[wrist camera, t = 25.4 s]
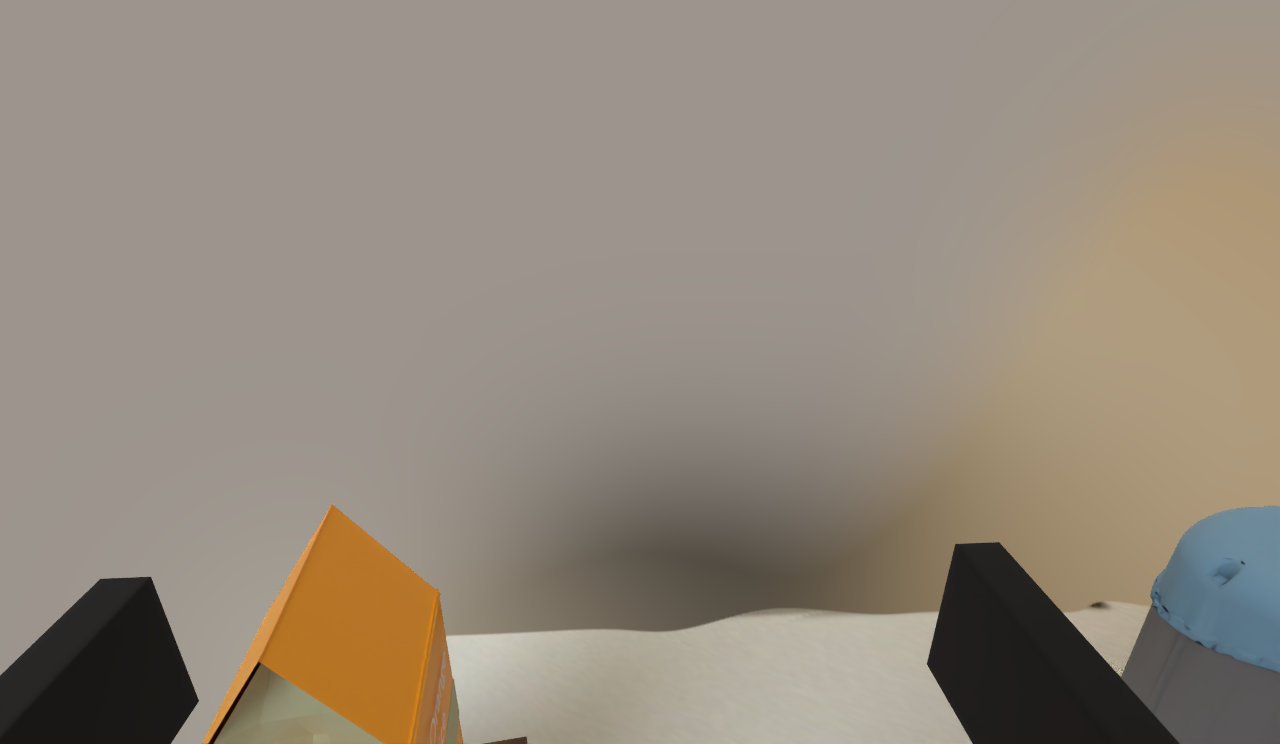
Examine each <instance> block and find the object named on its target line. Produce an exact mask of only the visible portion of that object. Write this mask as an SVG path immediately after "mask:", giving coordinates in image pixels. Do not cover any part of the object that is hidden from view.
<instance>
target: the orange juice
mask: <svg viewBox="0 0 1280 744" xmlns="http://www.w3.org/2000/svg"><path fill="white" fill-rule="evenodd" d="M202 744H463V739H462V733H461V727H460V721H459V709H458V703H457V697H456V691H455V684H454V679H453V678H452V672H451V666H450V660H449V653H448V647H447V641H446V635H445V629H444V623H443V617H442V611H441V604H440V593H439V592H438V589H434V588H433V587H431V586H430V585H429V584H428V583H427V582H425V581H424V580H423V579H422V578H420V577H419V576H418V575H417V574H416V573H414V572H413V571H412V570H411V569H409V568H408V567H407V566H406V565H405V564H404V563H402V562H401V561H400V560H399V559H398V558H396V557H395V556H394V555H393V554H391V553H390V552H389V551H388V550H387V549H385V548H384V547H383V546H382V545H381V544H379V543H378V542H377V541H376V540H375V539H373V538H372V537H371V536H370V535H368V534H367V533H366V532H365V531H364V530H362V529H361V528H360V527H359V526H358V525H356V524H355V523H354V522H353V521H352V520H350V519H349V518H348V517H347V516H345V515H344V514H343V513H342V512H341V511H339V510H338V509H337V508H336V507H335V506H333V505H331V507H330V508H329V510H328V512H327V513H326V515H325V517H324V519H323V520H322V522H321V523H320V525H319V527H318V529H317V530H316V532H315V534H314V535H313V537H312V538H311V540H310V542H309V544H308V545H307V547H306V549H305V550H304V552H303V554H302V555H301V557H300V559H299V560H298V562H297V564H296V565H295V567H294V569H293V570H292V572H291V574H290V575H289V577H288V579H287V580H286V582H285V584H284V585H283V587H282V589H281V591H280V592H279V594H278V595H277V597H276V599H275V600H274V602H273V604H272V605H271V607H270V609H269V610H268V612H267V614H266V616H265V618H264V620H263V622H262V624H261V626H260V628H259V630H258V632H257V634H256V636H255V639H254V640H253V643H252V644H251V647H250V648H249V650H248V653H247V654H246V656H245V659H244V660H243V662H242V664H241V667H240V669H239V671H238V673H237V675H236V677H235V679H234V681H233V683H232V685H231V687H230V689H229V691H228V693H227V695H226V697H225V699H224V701H223V703H222V705H221V707H220V709H219V711H218V713H217V715H216V717H215V719H214V721H213V723H212V725H211V727H210V729H209V731H208V733H207V735H206V737H205V739H204V741H203V743H202Z"/></svg>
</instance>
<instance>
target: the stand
mask: <svg viewBox="0 0 1280 744" xmlns="http://www.w3.org/2000/svg"><path fill="white" fill-rule="evenodd" d="M485 744H527V737H521V738H515V739H509V740H503V741H497V742H491V743H485Z"/></svg>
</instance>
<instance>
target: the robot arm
mask: <svg viewBox="0 0 1280 744" xmlns="http://www.w3.org/2000/svg"><path fill="white" fill-rule="evenodd" d="M1151 598H1152V601H1153V603H1152V605H1151V608H1150V610H1149V612H1148V615H1147V617H1146V620H1145V622H1144V624H1143V627H1142V629H1141V631H1140V634H1139V636H1138V638H1137V641H1136V643H1135V645H1134V648H1133V650H1132V652H1131V655H1130V657H1129V660H1128V662H1127V664H1126V667H1125V669H1124V671H1123V674H1122V676H1121V677H1120V676H1119V675H1118V674H1117V673H1116V672H1115V671H1114V670H1113V668H1112V667H1111V666H1110V665H1109V664H1108V663H1107V662H1106V661H1105V660H1104V658H1103V657H1102V656H1101V655H1100V654H1099V653H1098V652H1097V651H1096V650H1095V648H1094V647H1093V646H1092V645H1091V644H1090V643H1089V642H1088V641H1087V640H1086V638H1085V637H1084V636H1083V635H1082V634H1081V633H1080V632H1079V631H1078V630H1077V628H1076V627H1075V626H1074V625H1073V624H1072V623H1071V622H1070V621H1069V619H1068V618H1067V617H1066V616H1065V615H1064V614H1063V613H1062V612H1061V611H1060V609H1059V608H1058V607H1057V606H1056V605H1055V604H1054V603H1053V602H1052V601H1051V599H1050V598H1049V597H1048V596H1047V595H1046V594H1045V593H1044V592H1043V591H1042V590H1041V588H1040V587H1039V586H1038V585H1037V584H1036V583H1035V582H1034V581H1033V579H1032V578H1031V577H1030V576H1029V575H1028V574H1027V573H1026V572H1025V570H1024V569H1023V568H1022V567H1021V566H1020V565H1019V564H1018V563H1017V562H1016V561H1015V560H1014V558H1013V557H1012V556H1011V555H1010V554H1009V553H1008V552H1007V551H1006V549H1005V548H1004V547H1003V546H1002V545H1001V544H1000V543H999V542H998V543H972V544H956V545H955V548H954V552H953V557H952V561H951V565H950V569H949V573H948V578H947V582H946V586H945V590H944V594H943V599H942V603H941V607H940V611H939V615H938V620H937V624H936V628H935V632H934V637H933V641H932V645H931V649H930V653H929V658H928V662H927V665H928V667H929V669H930V670H931V672H932V674H933V676H934V677H935V679H936V681H937V682H938V684H939V686H940V688H941V689H942V691H943V693H944V695H945V696H946V698H947V700H948V702H949V703H950V705H951V707H952V708H953V710H954V712H955V714H956V715H957V717H958V719H959V721H960V722H961V724H962V726H963V728H964V729H965V731H966V733H967V734H968V736H969V738H970V740H971V741H972V743H973V744H1280V506H1265V507H1257V508H1255V507H1252V508H1251V507H1250V508H1237V509H1232V510H1227V511H1223V512H1219V513H1216V514H1213V515H1211V516H1208V517H1206V518H1205V519H1202V520H1200V521H1198V522H1197V523H1196V524H1194V525H1193V526H1192V527H1190V528H1189V529H1188V530H1187V531H1186V532H1185V534H1184V535H1183V536H1182V538H1181V539H1180V541H1179V543H1178V545H1177V547H1176V549H1175V551H1174V553H1173V555H1172V557H1171V559H1170V561H1169V563H1168V565H1167V567H1166V569H1164V570H1163V571H1162V572H1161V573H1160V574H1159V575H1158V576H1157V578H1156V579H1155V581H1154V583H1153V586H1152V591H1151ZM198 702H199V700H198V697H197V695H196V692H195V690H194V687H193V684H192V682H191V679H190V677H189V674H188V672H187V669H186V666H185V664H184V661H183V659H182V656H181V654H180V651H179V649H178V646H177V644H176V641H175V638H174V635H173V633H172V630H171V628H170V625H169V622H168V620H167V618H166V615H165V612H164V610H163V607H162V604H161V602H160V599H159V597H158V594H157V592H156V589H155V586H154V584H153V581H152V579H151V577H137V578H112V579H100V580H99V581H98V582H97V583H96V584H95V585H94V586H93V587H92V588H91V589H90V590H89V591H88V592H86V593H85V594H84V595H83V596H82V597H81V598H80V599H79V600H78V601H77V602H76V603H75V604H74V605H73V606H72V607H71V608H70V609H69V610H68V611H67V612H66V613H65V614H64V615H63V616H62V617H61V618H60V619H58V620H57V621H56V622H55V623H54V624H53V625H52V626H51V627H50V628H49V629H48V630H47V631H46V632H45V633H44V634H43V635H42V636H41V637H40V638H39V639H38V640H37V641H36V642H35V643H34V644H33V645H32V646H31V647H30V648H28V649H27V650H26V651H25V652H24V653H23V654H22V655H21V656H20V657H19V658H18V659H17V660H16V661H15V662H14V663H13V664H12V665H11V666H10V667H9V668H8V669H7V670H6V671H5V672H4V673H2V674H1V676H0V744H171V742H172V741H173V739H174V738H175V736H176V735H177V733H178V732H179V730H180V729H181V727H182V726H183V724H184V723H185V721H186V720H187V718H188V717H189V715H190V714H191V712H192V711H193V709H194V708H195V706H196V705H197V703H198Z"/></svg>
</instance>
